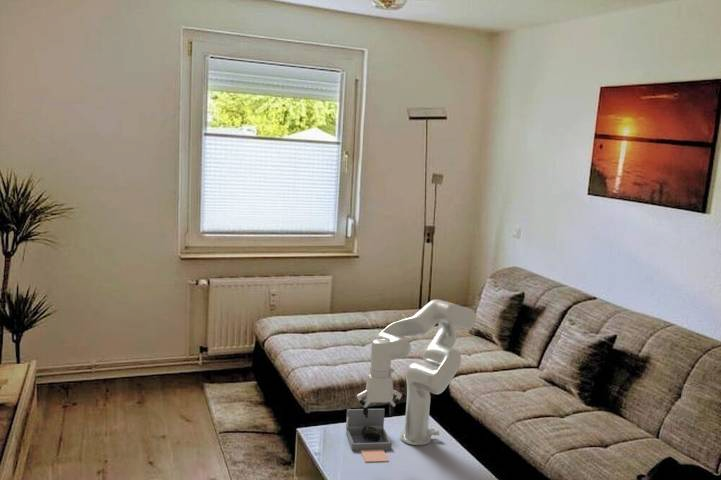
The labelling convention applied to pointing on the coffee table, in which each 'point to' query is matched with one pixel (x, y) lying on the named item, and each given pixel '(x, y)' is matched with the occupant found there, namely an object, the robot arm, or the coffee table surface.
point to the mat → (374, 455)
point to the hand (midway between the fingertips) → (378, 415)
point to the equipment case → (359, 421)
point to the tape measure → (371, 433)
